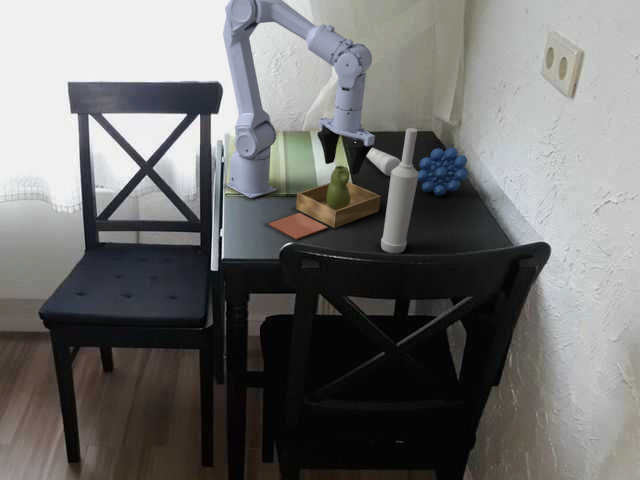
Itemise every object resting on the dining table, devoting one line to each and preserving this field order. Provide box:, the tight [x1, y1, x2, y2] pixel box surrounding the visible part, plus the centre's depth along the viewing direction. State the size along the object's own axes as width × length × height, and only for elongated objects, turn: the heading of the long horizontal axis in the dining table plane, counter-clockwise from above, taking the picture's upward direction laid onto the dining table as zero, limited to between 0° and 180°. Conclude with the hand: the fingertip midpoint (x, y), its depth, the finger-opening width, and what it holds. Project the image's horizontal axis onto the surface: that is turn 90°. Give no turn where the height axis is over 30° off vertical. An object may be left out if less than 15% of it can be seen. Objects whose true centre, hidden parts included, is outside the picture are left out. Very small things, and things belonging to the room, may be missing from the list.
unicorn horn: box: [353, 141, 402, 177], centre depth 195 cm, size 5×24×5 cm, turn 11°
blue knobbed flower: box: [417, 147, 469, 197], centre depth 175 cm, size 12×7×12 cm, turn 59°
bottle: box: [380, 127, 419, 254], centre depth 148 cm, size 5×5×25 cm
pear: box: [327, 165, 350, 210], centre depth 167 cm, size 6×5×10 cm
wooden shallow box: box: [295, 181, 382, 229], centre depth 169 cm, size 12×14×4 cm
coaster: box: [268, 212, 328, 241], centre depth 163 cm, size 9×9×1 cm
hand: (341, 168), depth 165 cm, fingers open, 7 cm apart
